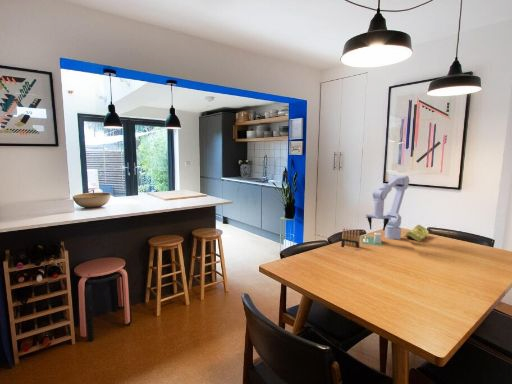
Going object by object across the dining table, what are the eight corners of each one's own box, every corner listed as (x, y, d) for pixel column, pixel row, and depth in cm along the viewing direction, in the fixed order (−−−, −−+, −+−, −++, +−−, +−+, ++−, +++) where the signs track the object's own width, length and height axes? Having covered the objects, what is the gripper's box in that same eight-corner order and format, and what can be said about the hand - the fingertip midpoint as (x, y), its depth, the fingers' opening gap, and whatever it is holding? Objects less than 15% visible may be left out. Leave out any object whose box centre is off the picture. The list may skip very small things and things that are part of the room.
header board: (379, 240, 194) (380, 234, 194) (382, 248, 177) (383, 242, 177) (360, 238, 198) (361, 232, 197) (361, 246, 181) (362, 239, 180)
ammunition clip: (341, 246, 180) (342, 227, 178) (342, 245, 181) (343, 227, 180) (358, 250, 174) (359, 230, 172) (359, 249, 175) (360, 229, 173)
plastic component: (421, 239, 191) (407, 230, 196) (415, 247, 194) (402, 238, 200) (430, 231, 204) (417, 223, 210) (424, 239, 208) (411, 231, 213)
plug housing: (379, 240, 188) (380, 233, 187) (380, 243, 181) (381, 236, 181) (373, 240, 189) (374, 232, 188) (374, 243, 183) (375, 235, 182)
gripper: (366, 208, 181) (364, 230, 183) (391, 210, 176) (390, 232, 178) (366, 207, 188) (365, 227, 189) (390, 208, 183) (389, 229, 184)
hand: (377, 229), depth 184 cm, fingers open, 7 cm apart
